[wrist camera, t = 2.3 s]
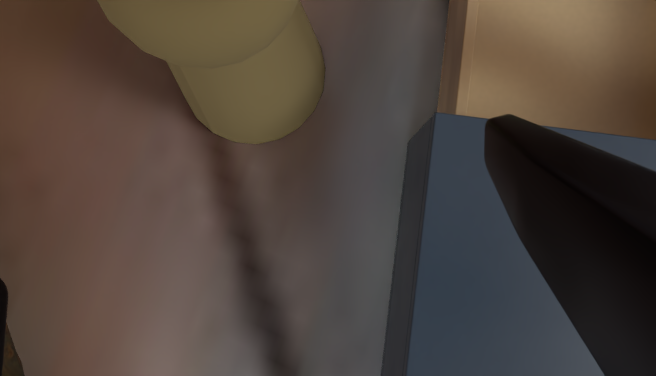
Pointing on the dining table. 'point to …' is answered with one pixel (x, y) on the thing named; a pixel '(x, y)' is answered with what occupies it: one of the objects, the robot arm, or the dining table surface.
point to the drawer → (553, 63)
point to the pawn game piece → (232, 60)
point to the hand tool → (11, 358)
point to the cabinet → (476, 266)
